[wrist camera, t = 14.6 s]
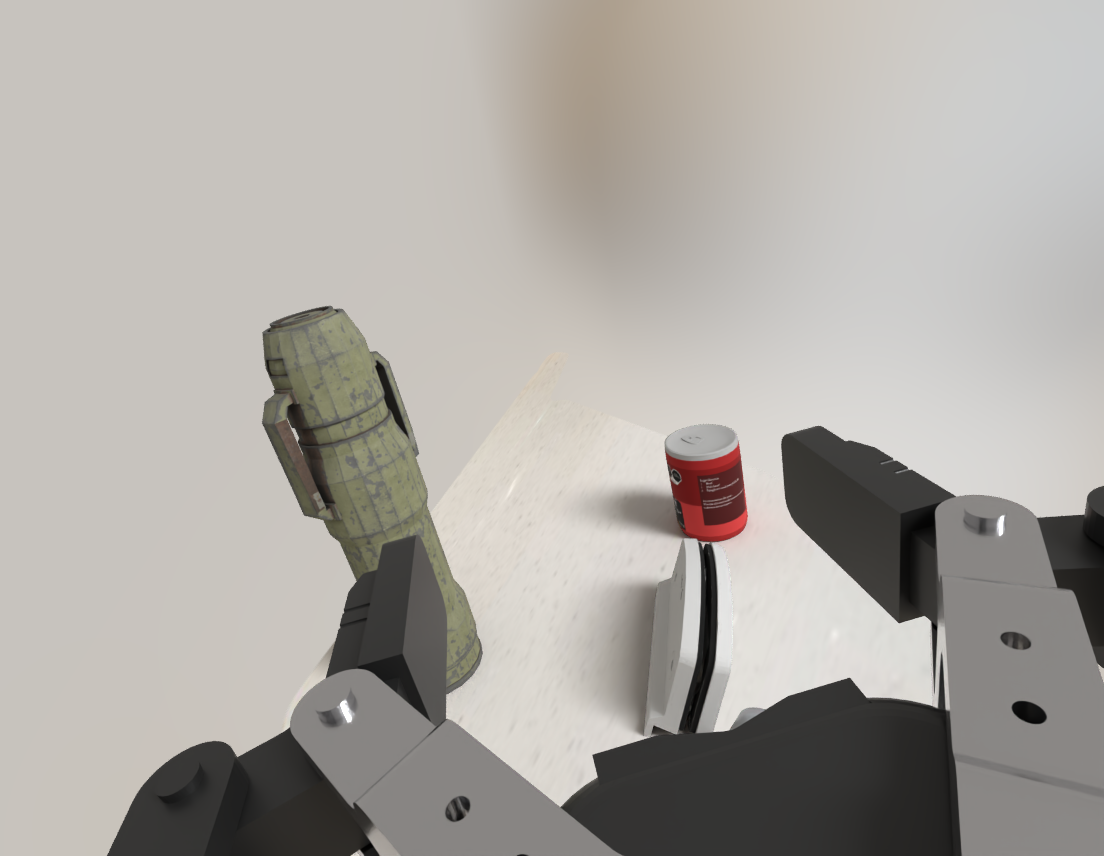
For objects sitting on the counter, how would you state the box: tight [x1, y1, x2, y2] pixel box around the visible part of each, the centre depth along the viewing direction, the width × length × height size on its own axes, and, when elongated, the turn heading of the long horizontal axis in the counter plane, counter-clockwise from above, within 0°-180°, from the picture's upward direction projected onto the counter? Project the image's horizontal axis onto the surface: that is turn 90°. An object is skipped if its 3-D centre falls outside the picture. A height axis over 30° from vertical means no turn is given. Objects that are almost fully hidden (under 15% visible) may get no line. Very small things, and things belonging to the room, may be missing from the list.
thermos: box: [262, 306, 483, 694], centre depth 51 cm, size 9×12×35 cm
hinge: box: [644, 538, 733, 737], centre depth 50 cm, size 17×5×10 cm, turn 168°
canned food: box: [665, 424, 748, 542], centre depth 67 cm, size 8×8×11 cm
